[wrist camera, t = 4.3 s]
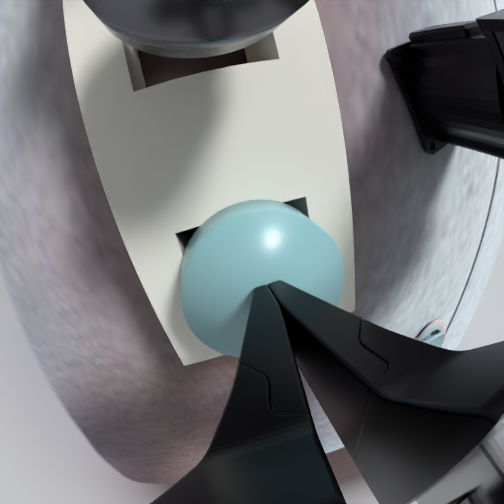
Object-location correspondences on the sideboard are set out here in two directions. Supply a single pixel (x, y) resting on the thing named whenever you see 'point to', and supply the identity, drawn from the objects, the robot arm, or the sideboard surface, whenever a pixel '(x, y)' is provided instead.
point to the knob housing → (211, 148)
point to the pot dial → (192, 24)
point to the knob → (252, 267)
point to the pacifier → (436, 338)
